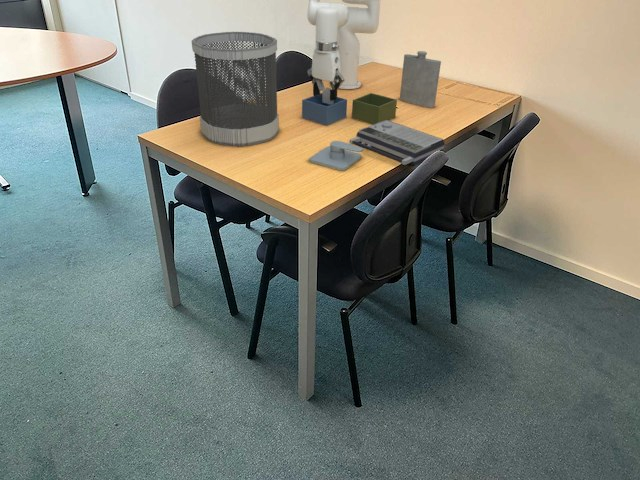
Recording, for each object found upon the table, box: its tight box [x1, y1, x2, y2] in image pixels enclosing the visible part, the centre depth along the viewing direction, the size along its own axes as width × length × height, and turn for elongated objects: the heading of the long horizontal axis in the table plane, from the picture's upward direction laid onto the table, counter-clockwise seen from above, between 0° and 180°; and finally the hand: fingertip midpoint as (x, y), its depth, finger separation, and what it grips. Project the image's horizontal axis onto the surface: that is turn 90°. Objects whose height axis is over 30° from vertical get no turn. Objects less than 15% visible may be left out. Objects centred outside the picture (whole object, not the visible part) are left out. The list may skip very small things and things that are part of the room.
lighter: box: [316, 79, 334, 105], centre depth 189 cm, size 7×2×8 cm, turn 51°
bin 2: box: [351, 92, 398, 125], centre depth 194 cm, size 12×12×7 cm
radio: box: [348, 120, 446, 167], centre depth 169 cm, size 24×5×20 cm
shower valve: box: [309, 140, 364, 172], centre depth 161 cm, size 12×6×15 cm
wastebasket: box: [191, 31, 280, 147], centre depth 173 cm, size 25×25×30 cm
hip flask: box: [399, 50, 442, 109], centre depth 206 cm, size 16×4×20 cm, turn 49°
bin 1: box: [301, 92, 348, 127], centre depth 192 cm, size 12×12×7 cm
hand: (324, 96), depth 190 cm, fingers closed on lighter, 7 cm apart
